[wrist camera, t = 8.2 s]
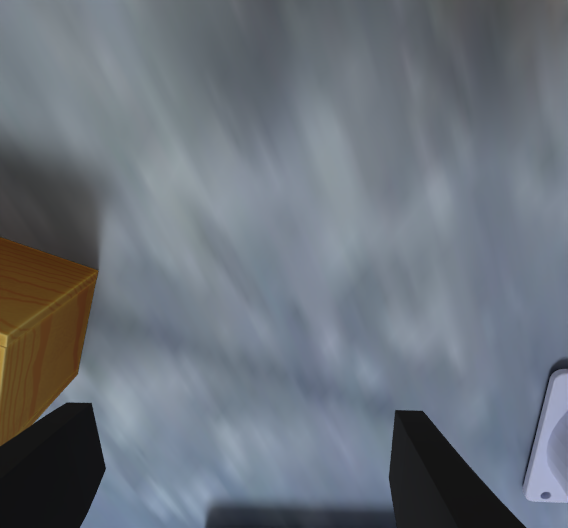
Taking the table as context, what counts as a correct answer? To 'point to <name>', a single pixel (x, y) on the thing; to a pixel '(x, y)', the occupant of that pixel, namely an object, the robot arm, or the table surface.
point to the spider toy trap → (38, 331)
